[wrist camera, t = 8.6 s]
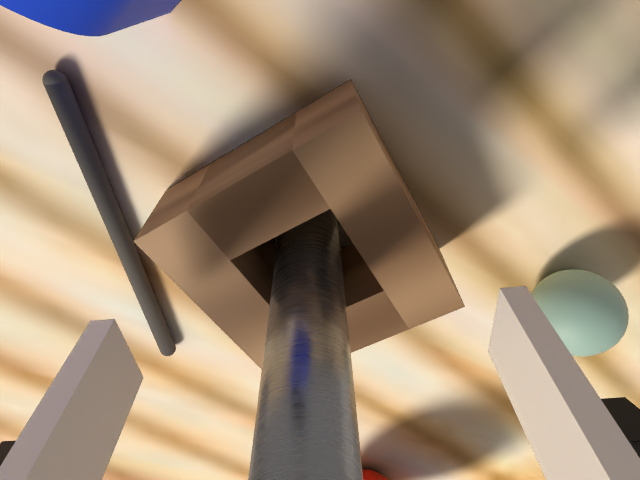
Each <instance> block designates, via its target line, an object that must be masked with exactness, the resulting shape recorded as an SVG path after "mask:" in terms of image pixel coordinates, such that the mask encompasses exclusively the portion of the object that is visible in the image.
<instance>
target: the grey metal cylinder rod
mask: <svg viewBox="0 0 640 480" xmlns="http://www.w3.org/2000/svg"><path fill="white" fill-rule="evenodd" d="M248 480H363V473H362V463H361V453H360V443H359V433H358V423H357V412H356V402H355V392H354V382H353V372H352V362H351V352H350V341H349V331H348V321H347V311H346V301H345V291H344V281H343V271H342V260H341V250H340V240H339V230H338V220H337V218H336V216H335V215H334V213H333V212H332V210H331V209H329V210H327V211H325V212H323V213H321V214H319V215H317V216H315V217H313V218H311V219H309V220H307V221H305V222H304V223H302V224H300V225H298V226H296V227H294V228H292V229H290V230H288V231H286V232H284V233H282V234H280V235H278V242H277V250H276V258H275V266H274V274H273V283H272V291H271V299H270V307H269V315H268V324H267V332H266V340H265V348H264V356H263V364H262V373H261V381H260V389H259V397H258V405H257V414H256V422H255V430H254V438H253V446H252V455H251V463H250V471H249V479H248Z"/></svg>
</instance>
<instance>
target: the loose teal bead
mask: <svg viewBox="0 0 640 480" xmlns="http://www.w3.org/2000/svg"><path fill="white" fill-rule="evenodd" d="M531 295H532V296H533V298H534V299H535V301H536V302H537V304H538V305H539V307H540V308H541V310H542V311H543V313H544V314H545V316H546V317H547V319H548V320H549V322H550V323H551V325H552V326H553V328H554V329H555V331H556V332H557V334H558V335H559V337H560V338H561V340H562V341H563V343H564V344H565V346H566V347H567V349H568V350H569V352H570V354H571V355H574V356H592V355H596V354H600V353H603V352H605V351H607V350H609V349H610V348H612V347H613V346H615V345H616V344H617V343H618V342H619V341H620V339H621V338H622V337H623V335H624V333H625V331H626V328H627V325H628V318H629V316H628V308H627V305H626V302H625V300H624V298H623V296H622V294H621V293H620V291H619V290H618V289H617V288H616V287H615V286H614V285H613V284H612V283H611V282H610V281H609V280H607V279H606V278H604V277H602V276H600V275H598V274H596V273H593V272H590V271H586V270H578V269H569V270H562V271H558V272H555V273H553V274H551V275H549V276H547V277H545V278H544V279H543V280H541V281H540V282H539V283H538V284H537V286H536V287H535V288H534V290H533V291H532V293H531Z"/></svg>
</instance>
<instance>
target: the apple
mask: <svg viewBox="0 0 640 480" xmlns="http://www.w3.org/2000/svg"><path fill="white" fill-rule="evenodd" d="M362 473H363V480H389V479H387V478H386V477H384V476H383V475H381V474H380V473H378V472H375V471H373V470H366V469H362Z"/></svg>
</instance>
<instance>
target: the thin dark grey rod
mask: <svg viewBox="0 0 640 480" xmlns="http://www.w3.org/2000/svg"><path fill="white" fill-rule="evenodd" d="M43 84H44V86H45V89H46V91H47V93H48V95H49V98H50V100H51V102H52V105H53V107H54V109H55V111H56V114H57V116H58V118H59V121H60V123H61V125H62V127H63V130H64V132H65V134H66V137H67V139H68V141H69V143H70V146H71V148H72V150H73V153H74V155H75V157H76V159H77V162H78V164H79V166H80V169H81V171H82V173H83V175H84V178H85V180H86V182H87V185H88V187H89V189H90V191H91V194H92V196H93V198H94V201H95V203H96V205H97V207H98V210H99V212H100V214H101V217H102V219H103V221H104V224H105V226H106V228H107V230H108V233H109V235H110V237H111V240H112V242H113V244H114V246H115V249H116V251H117V253H118V256H119V258H120V260H121V262H122V265H123V267H124V269H125V272H126V274H127V276H128V278H129V281H130V283H131V285H132V288H133V290H134V292H135V294H136V297H137V299H138V301H139V304H140V306H141V308H142V310H143V313H144V315H145V317H146V320H147V322H148V324H149V326H150V329H151V331H152V333H153V336H154V338H155V340H156V342H157V345H158V347H159V349H160V352H161V353H162V354H163V355H164V356H171V355H172V354H173V353H174V352H175V350H176V346H175V343H174V341H173V339H172V336H171V334H170V331H169V329H168V326H167V324H166V321H165V319H164V316H163V314H162V311H161V309H160V306H159V304H158V301H157V299H156V296H155V294H154V292H153V289H152V287H151V284H150V282H149V279H148V277H147V274H146V272H145V269H144V267H143V264H142V262H141V259H140V257H139V254H138V252H137V250H136V247H135V245H134V242H133V240H132V237H131V235H130V232H129V230H128V227H127V225H126V222H125V220H124V217H123V215H122V212H121V210H120V207H119V205H118V203H117V200H116V198H115V195H114V193H113V190H112V188H111V185H110V183H109V180H108V178H107V175H106V173H105V170H104V168H103V165H102V163H101V161H100V158H99V156H98V153H97V151H96V148H95V146H94V143H93V141H92V138H91V136H90V133H89V131H88V128H87V126H86V123H85V121H84V118H83V116H82V114H81V111H80V109H79V106H78V104H77V101H76V99H75V96H74V94H73V91H72V89H71V86H70V84H69V81H68V79H67V77H66V76H65V75H64V74H63V73H61V72H60V71H57V70H50V71H47V72H46V73H45V74H44V76H43Z"/></svg>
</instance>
